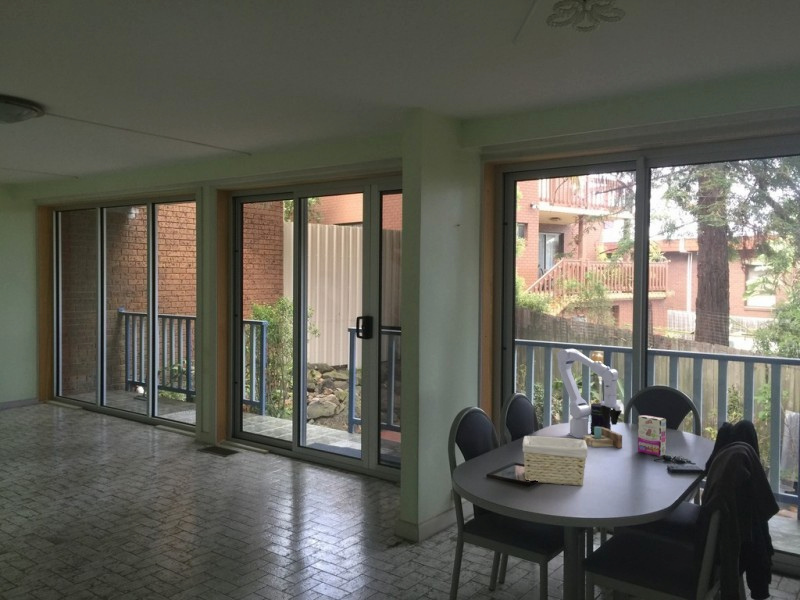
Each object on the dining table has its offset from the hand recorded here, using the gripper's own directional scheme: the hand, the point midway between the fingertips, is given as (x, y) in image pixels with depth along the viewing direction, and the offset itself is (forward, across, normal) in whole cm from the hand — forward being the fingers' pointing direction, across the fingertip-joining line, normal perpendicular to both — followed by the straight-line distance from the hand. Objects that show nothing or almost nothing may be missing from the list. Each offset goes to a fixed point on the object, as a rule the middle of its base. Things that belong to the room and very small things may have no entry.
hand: (609, 422), depth 302 cm
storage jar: (+10, -16, +4) cm, 19 cm away
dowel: (+9, +2, -7) cm, 12 cm away
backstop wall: (+9, +2, -1) cm, 10 cm away
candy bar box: (+10, +22, +8) cm, 25 cm away
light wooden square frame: (+9, +2, -7) cm, 12 cm away
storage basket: (+10, +50, -52) cm, 73 cm away
